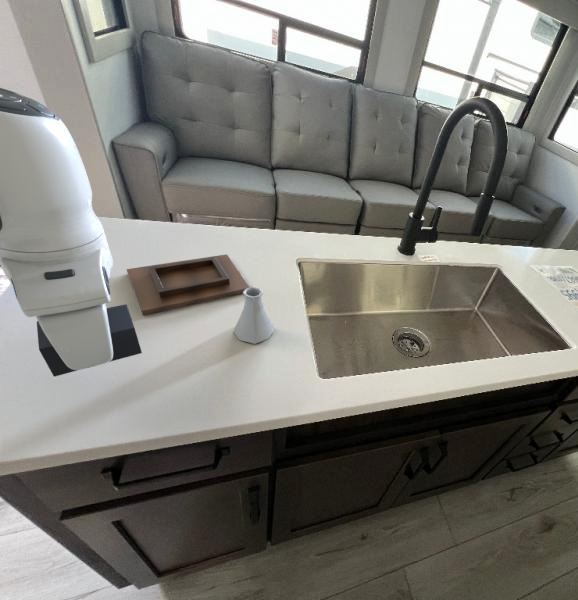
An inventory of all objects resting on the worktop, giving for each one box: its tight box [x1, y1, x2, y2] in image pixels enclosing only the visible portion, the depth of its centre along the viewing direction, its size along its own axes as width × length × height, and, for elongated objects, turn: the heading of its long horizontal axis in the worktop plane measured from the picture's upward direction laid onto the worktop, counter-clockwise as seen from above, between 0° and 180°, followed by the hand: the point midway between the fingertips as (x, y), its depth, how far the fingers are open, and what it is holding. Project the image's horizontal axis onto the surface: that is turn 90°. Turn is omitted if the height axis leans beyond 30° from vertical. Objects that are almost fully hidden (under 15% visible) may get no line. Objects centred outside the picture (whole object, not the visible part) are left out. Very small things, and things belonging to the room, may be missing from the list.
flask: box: [232, 286, 276, 345], centre depth 63 cm, size 7×7×10 cm
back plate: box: [126, 253, 251, 316], centre depth 72 cm, size 20×15×3 cm
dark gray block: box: [36, 304, 143, 377], centre depth 44 cm, size 9×6×5 cm, turn 130°
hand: (94, 342), depth 45 cm, fingers closed on dark gray block, 5 cm apart
